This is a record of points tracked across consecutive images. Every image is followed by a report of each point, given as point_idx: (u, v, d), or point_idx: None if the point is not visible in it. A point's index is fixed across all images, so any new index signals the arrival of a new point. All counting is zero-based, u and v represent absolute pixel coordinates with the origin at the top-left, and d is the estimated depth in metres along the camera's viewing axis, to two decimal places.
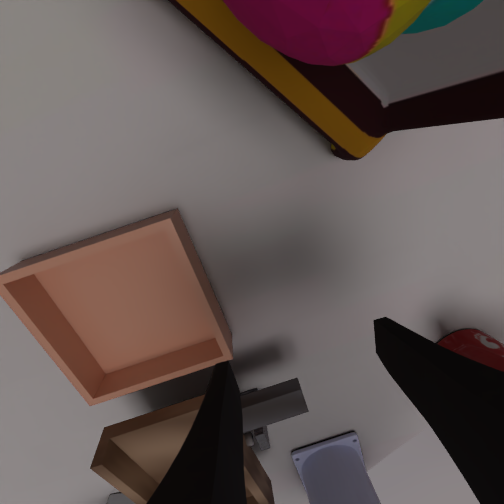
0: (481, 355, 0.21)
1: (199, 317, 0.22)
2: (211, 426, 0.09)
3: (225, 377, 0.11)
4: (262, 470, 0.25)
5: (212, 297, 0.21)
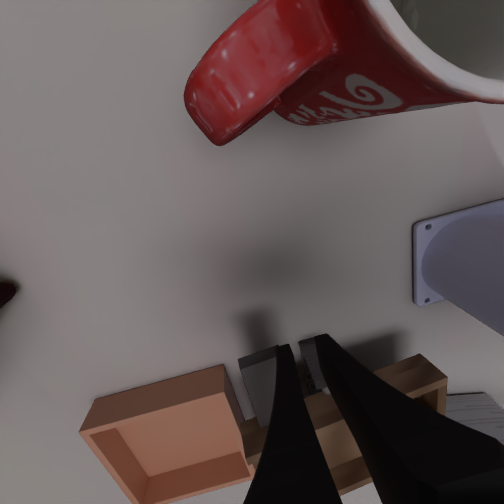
0: None
1: None
2: (295, 402, 0.09)
3: (293, 358, 0.11)
4: (386, 370, 0.21)
5: (170, 387, 0.23)
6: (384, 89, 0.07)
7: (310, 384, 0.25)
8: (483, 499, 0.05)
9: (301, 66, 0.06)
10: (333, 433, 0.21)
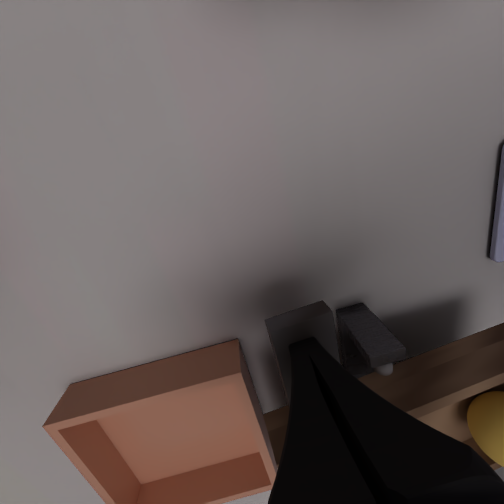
0: None
1: None
2: (314, 397, 0.09)
3: (307, 354, 0.11)
4: (463, 344, 0.16)
5: (168, 368, 0.17)
6: None
7: (349, 366, 0.19)
8: None
9: None
10: None
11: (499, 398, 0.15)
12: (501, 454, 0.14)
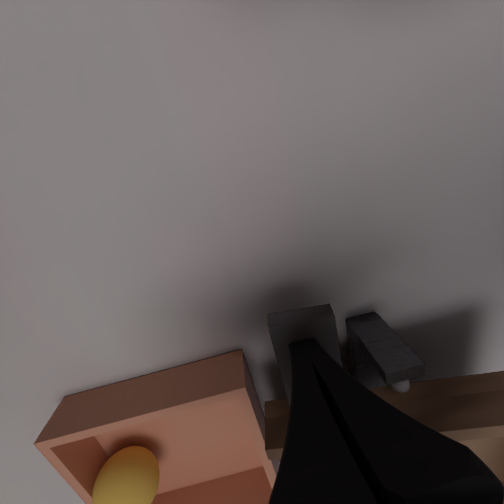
0: None
1: None
2: (314, 397, 0.09)
3: (308, 354, 0.11)
4: None
5: (168, 381, 0.16)
6: None
7: (359, 378, 0.18)
8: None
9: None
10: None
11: (111, 459, 0.17)
12: None
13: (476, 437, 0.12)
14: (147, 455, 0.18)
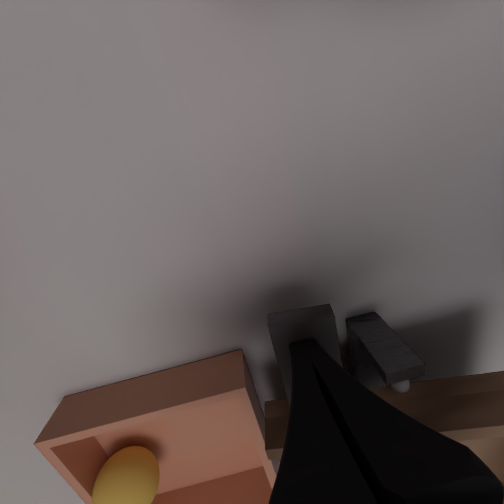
0: None
1: None
2: (314, 397, 0.09)
3: (308, 354, 0.11)
4: None
5: (168, 381, 0.16)
6: None
7: (359, 378, 0.18)
8: None
9: None
10: None
11: (111, 459, 0.17)
12: None
13: (476, 437, 0.12)
14: (147, 455, 0.18)
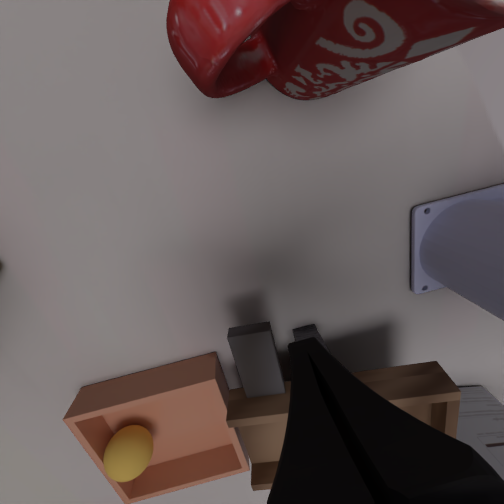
0: None
1: None
2: (313, 398, 0.09)
3: (307, 355, 0.11)
4: (391, 371, 0.20)
5: (160, 375, 0.22)
6: (386, 17, 0.06)
7: None
8: None
9: None
10: None
11: (117, 434, 0.23)
12: (108, 474, 0.21)
13: None
14: (144, 431, 0.23)
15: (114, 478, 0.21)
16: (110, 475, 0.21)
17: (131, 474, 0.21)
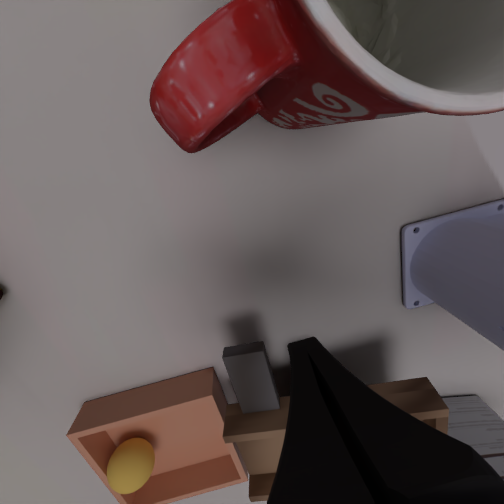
0: None
1: None
2: (313, 398, 0.09)
3: (307, 355, 0.11)
4: (382, 387, 0.20)
5: (159, 390, 0.23)
6: (348, 98, 0.07)
7: None
8: None
9: (261, 76, 0.06)
10: None
11: (119, 447, 0.24)
12: (112, 487, 0.22)
13: None
14: (146, 443, 0.24)
15: (117, 491, 0.22)
16: (113, 488, 0.22)
17: (134, 486, 0.22)
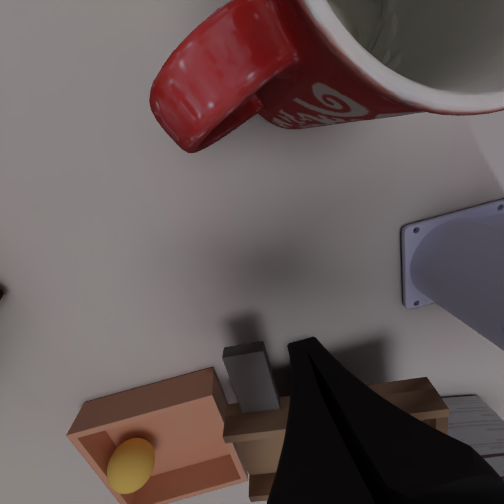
0: None
1: None
2: (313, 398, 0.09)
3: (307, 355, 0.11)
4: (382, 387, 0.20)
5: (159, 390, 0.23)
6: (348, 98, 0.07)
7: None
8: None
9: (261, 76, 0.06)
10: None
11: (119, 447, 0.24)
12: (112, 487, 0.22)
13: None
14: (146, 443, 0.24)
15: (118, 491, 0.22)
16: (114, 488, 0.22)
17: (135, 486, 0.22)
